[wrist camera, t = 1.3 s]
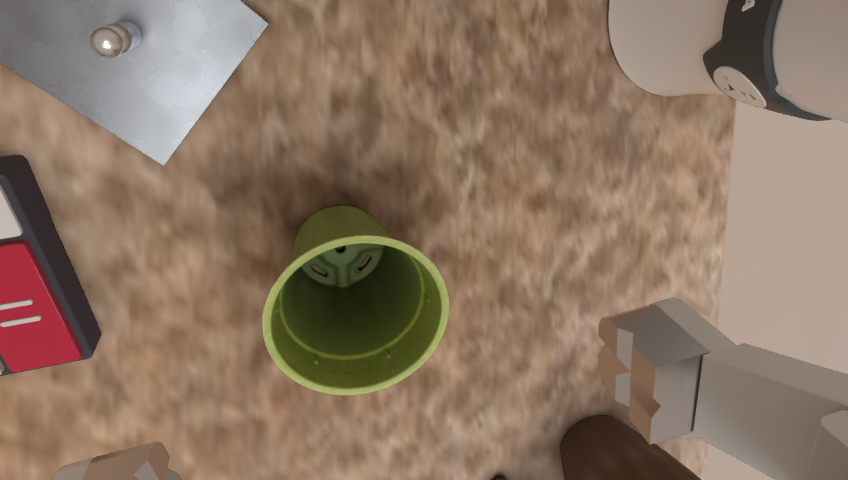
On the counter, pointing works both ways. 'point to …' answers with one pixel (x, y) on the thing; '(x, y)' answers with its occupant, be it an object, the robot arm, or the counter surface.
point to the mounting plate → (130, 59)
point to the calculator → (37, 282)
